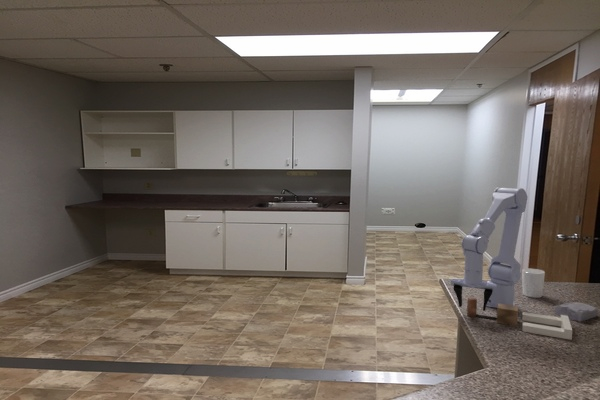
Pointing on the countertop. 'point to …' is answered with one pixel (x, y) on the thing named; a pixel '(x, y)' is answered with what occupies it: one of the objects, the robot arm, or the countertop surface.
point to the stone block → (576, 311)
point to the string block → (504, 312)
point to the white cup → (532, 282)
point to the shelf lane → (547, 330)
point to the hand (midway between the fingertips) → (472, 307)
